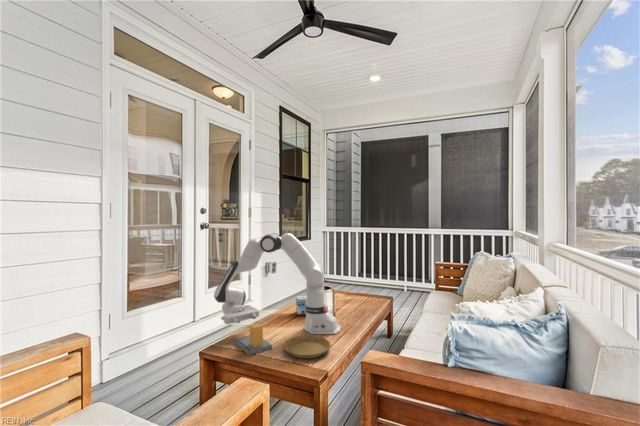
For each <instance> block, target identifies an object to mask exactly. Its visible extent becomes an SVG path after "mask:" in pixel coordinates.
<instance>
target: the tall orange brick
mask: <svg viewBox="0 0 640 426" xmlns="http://www.w3.org/2000/svg"><path fill="white" fill-rule="evenodd" d="M263 331H264V330H263V324H260V323H253V324H250V325H249V335H250V345H251V346H253V347H258V346H261V345H263V339H264V336H263V335H264V334H263V333H264V332H263Z"/></svg>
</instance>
